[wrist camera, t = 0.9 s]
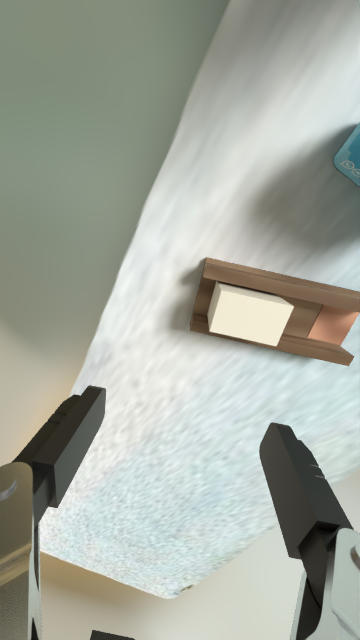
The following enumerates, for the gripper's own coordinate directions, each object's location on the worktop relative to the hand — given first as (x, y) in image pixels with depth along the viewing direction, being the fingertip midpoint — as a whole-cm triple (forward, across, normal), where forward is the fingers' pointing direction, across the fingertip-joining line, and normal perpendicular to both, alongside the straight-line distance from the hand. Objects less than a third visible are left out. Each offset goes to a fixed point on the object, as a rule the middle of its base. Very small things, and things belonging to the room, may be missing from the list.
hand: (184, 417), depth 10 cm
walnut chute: (+22, -12, -1) cm, 24 cm away
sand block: (+20, -6, -1) cm, 21 cm away
